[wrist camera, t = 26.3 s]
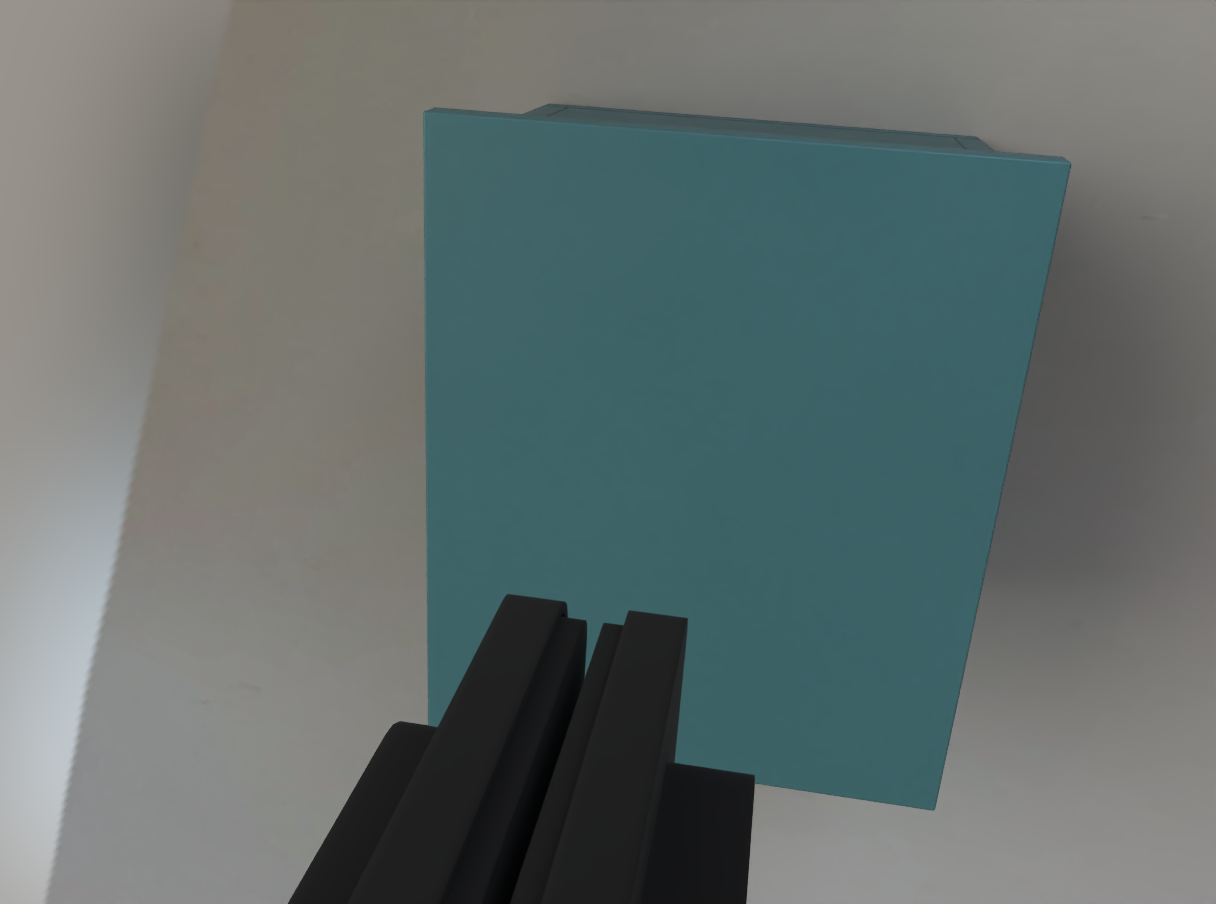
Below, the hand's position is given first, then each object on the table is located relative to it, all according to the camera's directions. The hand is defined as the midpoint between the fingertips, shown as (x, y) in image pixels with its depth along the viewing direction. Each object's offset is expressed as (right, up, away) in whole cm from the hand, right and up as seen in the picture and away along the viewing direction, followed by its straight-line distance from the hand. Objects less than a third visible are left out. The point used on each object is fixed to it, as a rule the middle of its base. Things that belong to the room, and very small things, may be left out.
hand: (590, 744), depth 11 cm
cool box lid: (+3, +2, +17) cm, 18 cm away
